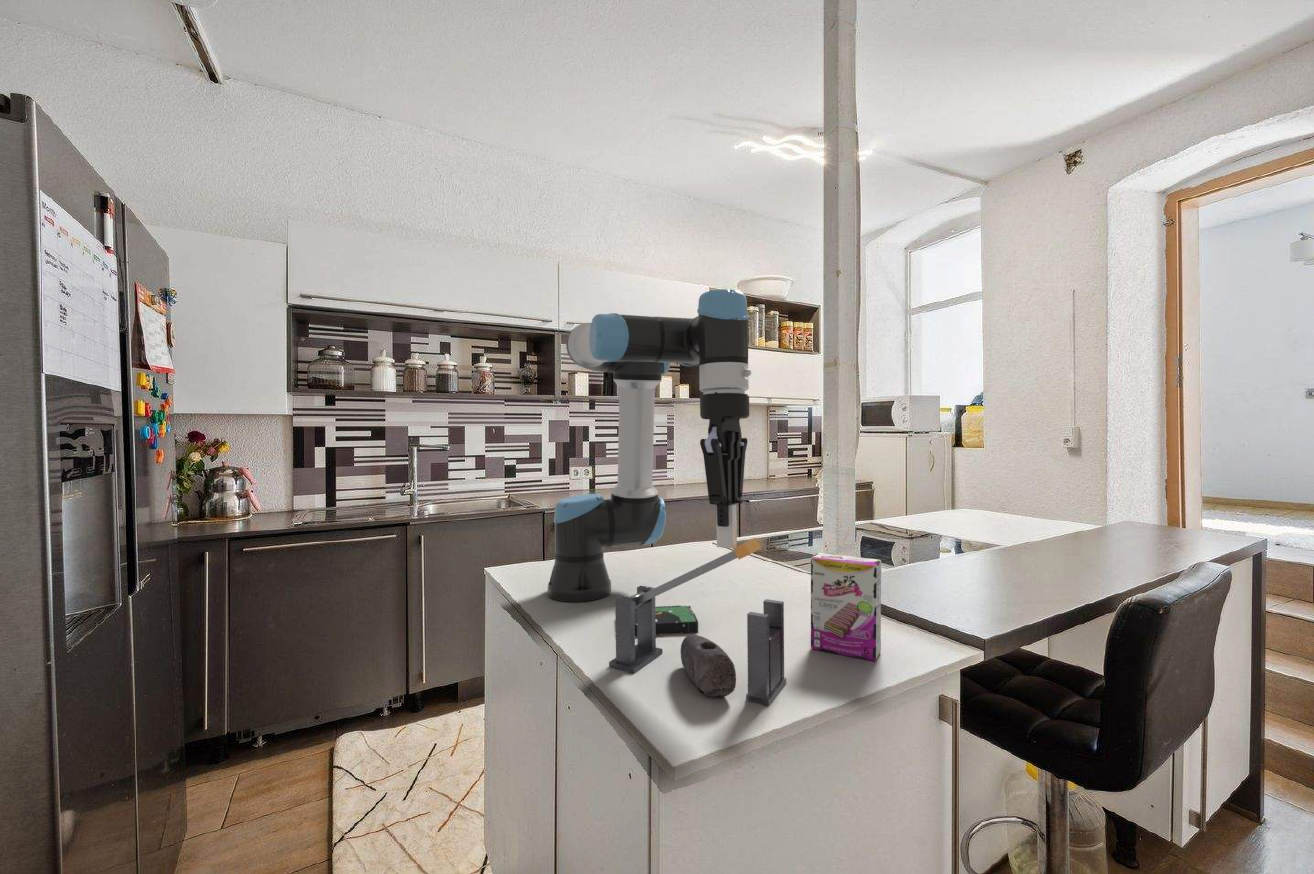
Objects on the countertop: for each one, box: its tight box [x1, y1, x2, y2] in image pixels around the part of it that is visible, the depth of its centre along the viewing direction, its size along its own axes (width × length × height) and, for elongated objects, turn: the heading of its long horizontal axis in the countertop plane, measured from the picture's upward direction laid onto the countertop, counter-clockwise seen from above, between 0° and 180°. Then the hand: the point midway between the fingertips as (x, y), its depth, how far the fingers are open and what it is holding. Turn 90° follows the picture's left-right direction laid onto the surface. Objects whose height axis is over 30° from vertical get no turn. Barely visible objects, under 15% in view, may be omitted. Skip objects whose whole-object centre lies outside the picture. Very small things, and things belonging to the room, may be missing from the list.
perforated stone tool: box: [680, 634, 737, 698], centre depth 85 cm, size 15×5×7 cm, turn 17°
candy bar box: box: [810, 552, 882, 662], centre depth 96 cm, size 11×5×16 cm, turn 59°
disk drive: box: [635, 605, 699, 637], centre depth 110 cm, size 10×3×15 cm
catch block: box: [745, 598, 787, 707], centre depth 81 cm, size 8×3×12 cm, turn 149°
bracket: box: [608, 585, 664, 674], centre depth 93 cm, size 9×5×12 cm, turn 149°
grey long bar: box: [630, 537, 762, 609], centre depth 88 cm, size 5×25×2 cm, turn 59°
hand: (726, 546), depth 84 cm, fingers closed
